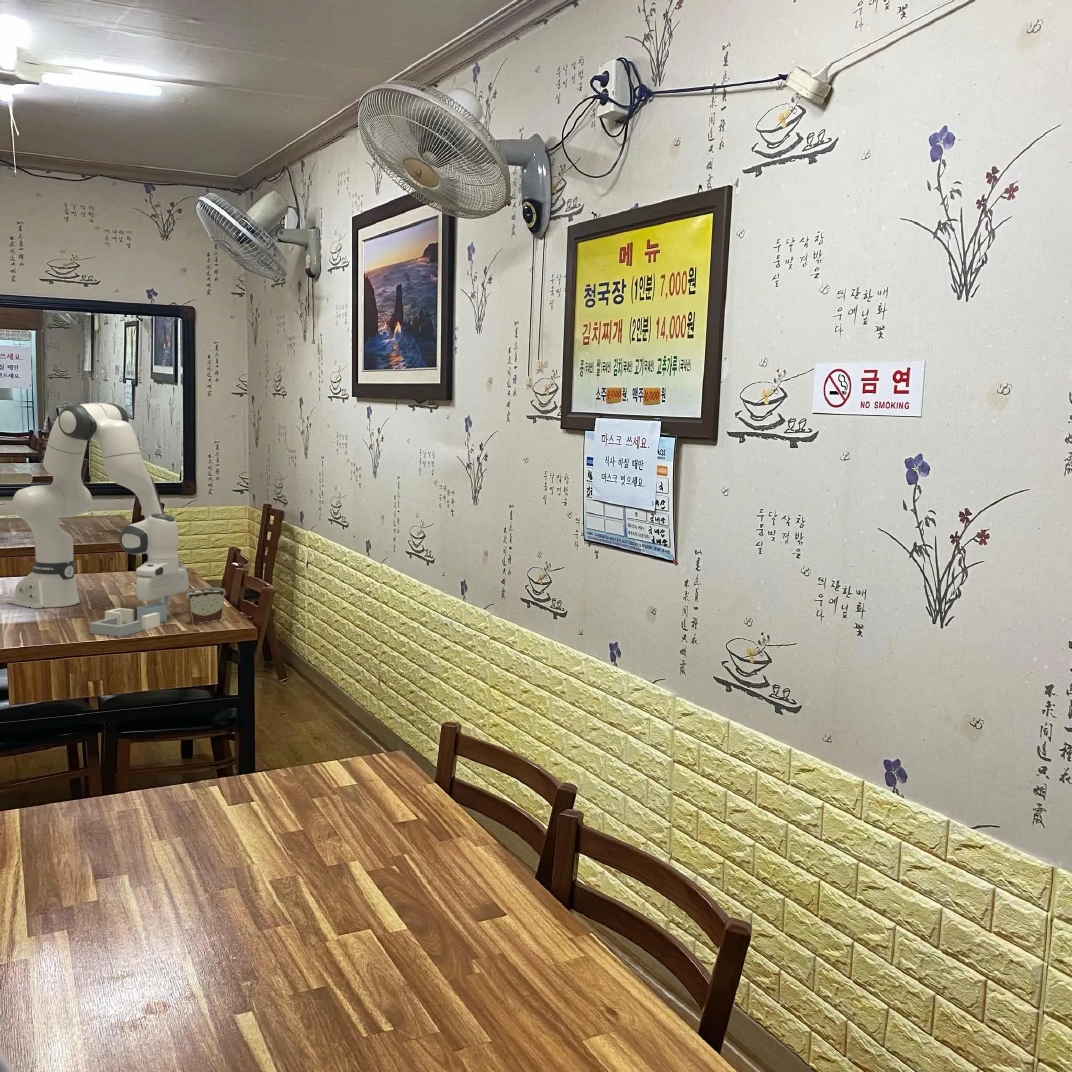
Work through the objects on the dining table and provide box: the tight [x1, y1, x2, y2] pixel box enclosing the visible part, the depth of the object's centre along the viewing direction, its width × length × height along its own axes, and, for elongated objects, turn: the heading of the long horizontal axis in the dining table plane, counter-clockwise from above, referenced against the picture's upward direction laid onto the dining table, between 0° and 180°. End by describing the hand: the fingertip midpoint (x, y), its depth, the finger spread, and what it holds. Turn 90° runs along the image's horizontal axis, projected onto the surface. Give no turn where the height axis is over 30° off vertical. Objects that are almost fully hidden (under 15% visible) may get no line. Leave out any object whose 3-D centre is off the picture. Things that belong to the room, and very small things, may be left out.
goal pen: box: [89, 617, 143, 638], centre depth 283 cm, size 10×9×3 cm
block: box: [136, 602, 168, 623], centre depth 298 cm, size 5×7×5 cm
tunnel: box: [104, 607, 161, 631], centre depth 292 cm, size 15×6×4 cm, turn 71°
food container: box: [185, 586, 227, 623], centre depth 302 cm, size 12×6×10 cm, turn 131°
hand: (163, 610), depth 303 cm, fingers closed
